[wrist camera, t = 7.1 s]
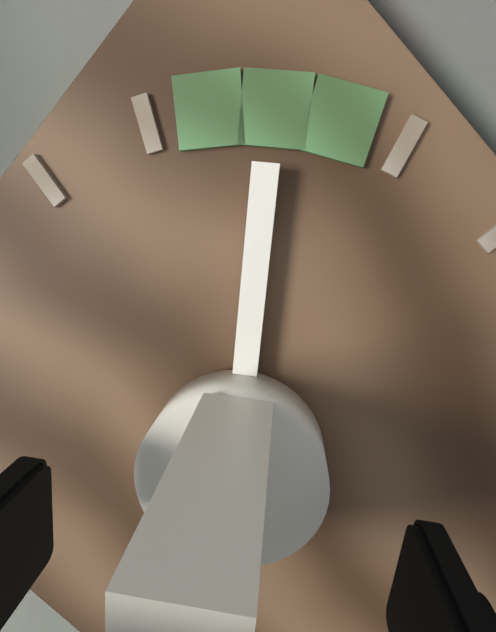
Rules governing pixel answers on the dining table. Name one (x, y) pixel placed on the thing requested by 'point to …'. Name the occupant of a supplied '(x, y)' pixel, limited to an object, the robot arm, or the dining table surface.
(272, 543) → the tuning knob
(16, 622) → the dining table surface
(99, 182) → the dial board
